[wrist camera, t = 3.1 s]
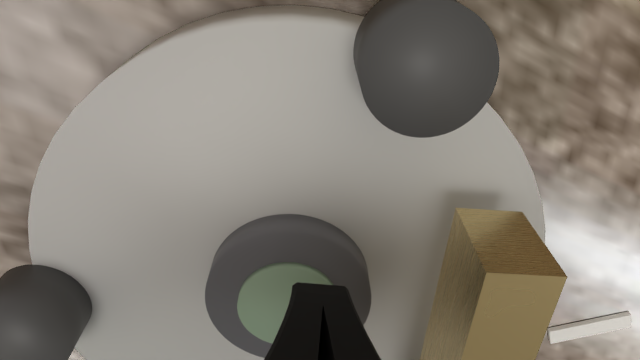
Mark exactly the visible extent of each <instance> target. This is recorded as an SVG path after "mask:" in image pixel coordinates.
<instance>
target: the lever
mask: <svg viewBox="0 0 640 360" xmlns="http://www.w3.org/2000/svg"><path fill="white" fill-rule="evenodd" d="M566 279H567V276H566V275H565V273H564V272H563V270H562V269H561V267H560V266H559V264H558V263H557V261H556V260H555V259H554V257H553V256H552V254H551V253H550V251H549V250H548V248H547V247H546V245H545V244H544V243H543V241H542V240H541V238H540V237H539V235H538V234H537V232H536V231H535V229H534V228H533V227H532V225H531V224H530V222H529V221H528V219H527V218H526V216H525V215H524V214H523V212H519V211H502V210H485V209H468V208H455V212H454V217H453V221H452V225H451V229H450V234H449V238H448V242H447V246H446V250H445V255H444V259H443V263H442V267H441V272H440V276H439V280H438V284H437V288H436V293H435V297H434V301H433V305H432V310H431V314H430V318H429V322H428V326H427V331H426V335H425V339H424V343H423V347H422V352H421V356H420V360H535V359H536V356H537V353H538V351H539V348H540V346H541V343H542V341H543V338H544V335H545V333H546V330H547V328H548V325H549V323H550V320H551V317H552V315H553V312H554V310H555V307H556V305H557V302H558V299H559V297H560V294H561V292H562V289H563V287H564V284H565V281H566Z"/></svg>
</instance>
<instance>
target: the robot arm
mask: <svg viewBox="0 0 640 360" xmlns="http://www.w3.org/2000/svg"><path fill="white" fill-rule="evenodd" d="M264 360H381V358H380V357H379V355H378V353H377V351H376V349H375V348H374V346H373V344H372V342H371V340H370V338H369V336H368V334H367V332H366V330H365V328H364V326H363V324H362V322H361V320H360V318H359V316H358V313H357V311H356V309H355V306H354V304H353V301H352V299H351V296H350V293H349V290H348V289H347V288H346V287H345V286H338V285H325V284H313V283H300V282H297V283H295V284H294V285H292V292H291V297H290V301H289V305H288V308H287V311H286V313H285V316H284V319H283V321H282V324H281V326H280V328H279V330H278V333H277V335H276V337H275V340H274V342H273V344H272V346H271V348H270V350H269V351H268V353H267V355H266V357H265V359H264Z"/></svg>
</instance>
